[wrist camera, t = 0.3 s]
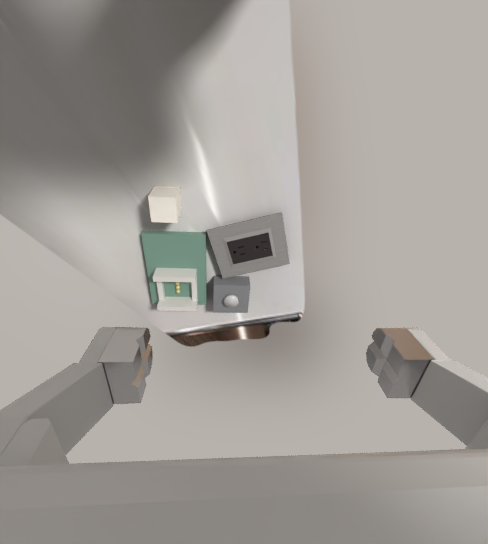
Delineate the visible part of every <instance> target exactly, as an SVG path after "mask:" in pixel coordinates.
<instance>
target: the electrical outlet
mask: <svg viewBox="0 0 488 544" xmlns="http://www.w3.org/2000/svg"><path fill="white" fill-rule="evenodd" d="M207 234H208V237H209V240H210V243H211V246H212V249H213V252H214V254H215V257H216V260H217V263H218V266H219V269H220V272H221V275H222V278H228V277H232V276H237V275H241V274H246V273H250V272H255V271H259V270H264V269H268V268H273V267H277V266H282V265H286V264H290V263H289V257H288V250H287V244H286V237H285V231H284V224H283V218H282V213H277V214H273V215H268V216H264V217H260V218H256V219H251V220H247V221H243V222H239V223H234V224H230V225H226V226H222V227H218V228H213V229H209V230H207Z"/></svg>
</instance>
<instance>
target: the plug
mask: <svg viewBox="0 0 488 544" xmlns="http://www.w3.org/2000/svg"><path fill="white" fill-rule="evenodd" d="M148 201H149V209H150V216H151V222H163V223H178V221H179V218H180V215H181V212H182V205H181V189H180V187H169V186H155V187H154V188H153V190H152V191H151V193H150V194H149V196H148Z"/></svg>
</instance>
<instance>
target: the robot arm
mask: <svg viewBox="0 0 488 544" xmlns="http://www.w3.org/2000/svg"><path fill="white" fill-rule="evenodd" d="M372 338H373V340H374V342H373V343H371V344H370V345H369V346H368V349H367V352H366V355H367V363H368V366H369V368H370V370H371V371H372V372H373V373H374V374H376V375H377V376H379V378H378V383H379V385H380V386H381V388H382V390H383V391H384V393H385V395H386V396H387V398H411V400H412V401H413V402H415V403H416V404H417V405H418V406H419V407H421V408H422V409H423V410H424V411H426V412H427V413H428V414H429V415H430V416H431V417H433V418H434V419H435V420H436V421H438V422H439V423H440V424H441V425H442V426H444V427H445V428H446V429H447V430H448V431H450V432H451V433H452V434H453V435H455V436H456V437H457V438H458V439H459V440H460V441H462V442H463V443H464V444H465V445H467V447H466V448H465V449H459V450H433V451H432V450H431V451H406V452H379V453H352V454H327V455H298V456H273V457H245V458H244V457H243V458H217V459H216V458H215V459H188V460H161V461H136V462H135V461H134V462H107V463H78V464H69V462H68V460H67V458H66V456H65V455H66V454H67V453H68V452H69V451H70V450H71V449H72V448H73V447H74V446H75V445H76V444H77V443H78V442H79V440H81V438H83V436H85V434H86V433H87V432H88V431H89V430H90V429H91V428H92V427H93V426H94V425H95V424H96V423H97V422H98V421H99V420H100V419H101V418H102V417H103V416H104V415H105V414H106V413H107V412H108V411H109V410H110V409H111V408H112V407H113V404H128V403H141V400H142V397H143V394H144V390H145V387H146V382H145V378H146V377H147V376H148V375H149V374H150V370H151V365H152V346H150V345H149V344H148V342H149V340H150V332H149V329H148V328H133V327H118V328H117V327H103V328H101V329H99V331H98V332H97V334H96V336H95V337H94V339H93V340H92V342H91V344H90V345H89V347H88V349H87V350H86V352H85V353H84V355H83V357H82V358H81V360H80V362H79V363H74V364H72V365H70V366H69V367H67V368H66V369H64V370H62V371H61V372H60V373H58V374H56V375H55V376H53V377H51V378H50V379H49V380H47V381H45V382H44V383H42V384H41V385H39V386H37V387H36V388H34V389H33V390H31V391H30V392H28V393H26V394H25V395H23V396H22V397H20V398H19V399H17V400H15V401H14V402H12V403H11V404H9V405H8V406H6V407H5V408H3V409H1V410H0V544H488V378H487V377H486V376H483V375H482V374H480V373H478V372H476V371H474V370H472V369H470V368H468V367H467V366H465V365H463V364H461V363H459V362H457V361H455V360H450V359H449V358H448V357H447V356H446V355H445V354H444V353H443V352H442V351H441V350H440V349H439V348H438V347H437V346H436V345H435V344H434V343H433V342H432V341H431V340H430V339H429V338H428V336H426V334H425V333H424V332H423V331H422V330H420V329H419V328H377V329H376V330H375V331H374V332H373V335H372Z"/></svg>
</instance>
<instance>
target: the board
mask: <svg viewBox="0 0 488 544" xmlns="http://www.w3.org/2000/svg"><path fill="white" fill-rule="evenodd" d="M141 237H142V243H143V249H144V255H145V262H146V268H147V274H148V280H149V286H150V293H151V299H152V304H158V305H157V309H158V310H160V311H197V304H204V305H206V304H207V282H206V233H199V232H169V231H142V233H141Z"/></svg>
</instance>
